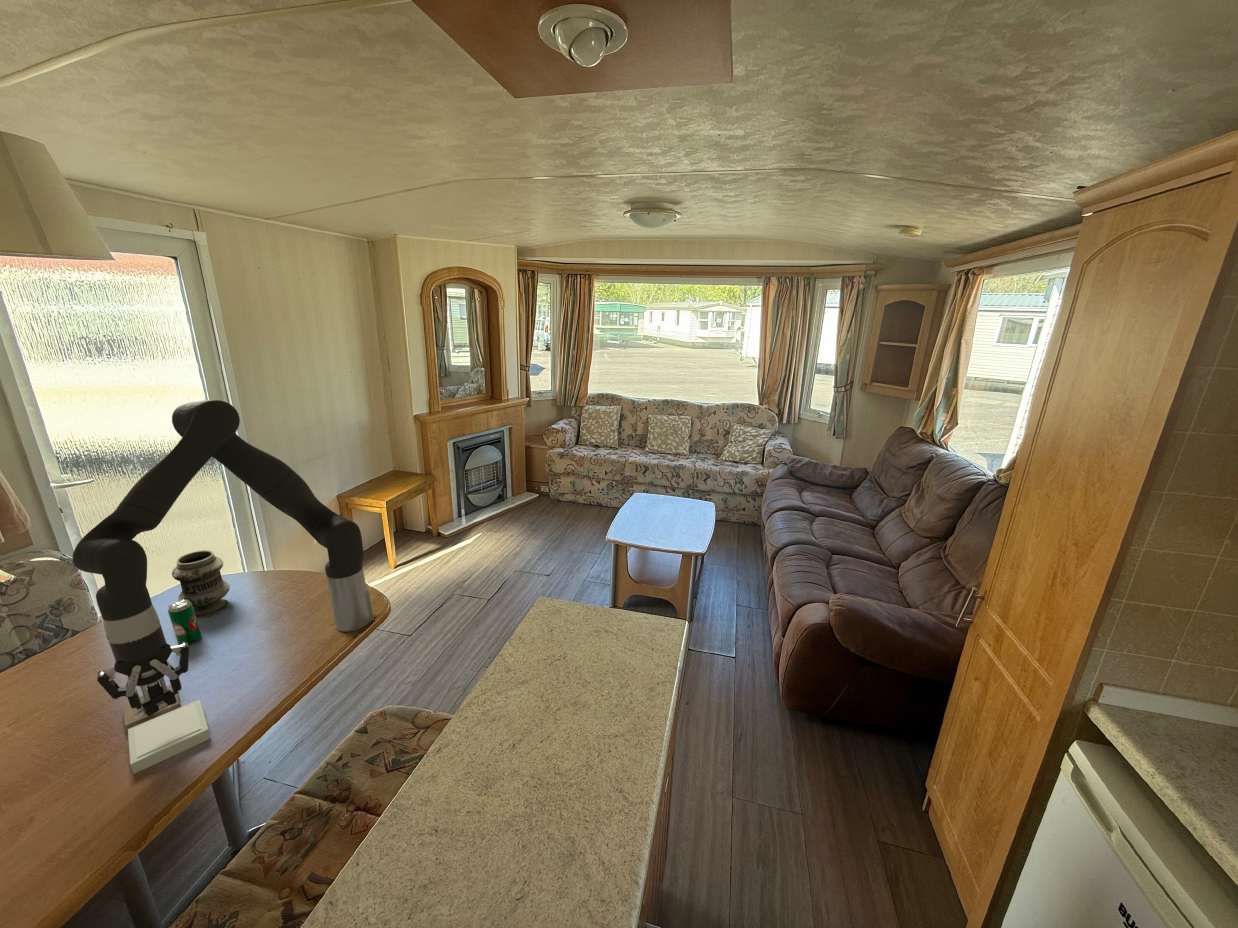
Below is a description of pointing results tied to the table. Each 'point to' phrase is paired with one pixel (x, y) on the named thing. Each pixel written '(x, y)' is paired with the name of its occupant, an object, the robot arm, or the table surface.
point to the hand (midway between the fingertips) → (157, 699)
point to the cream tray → (167, 735)
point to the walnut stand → (129, 712)
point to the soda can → (184, 622)
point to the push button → (154, 693)
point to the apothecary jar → (202, 582)
